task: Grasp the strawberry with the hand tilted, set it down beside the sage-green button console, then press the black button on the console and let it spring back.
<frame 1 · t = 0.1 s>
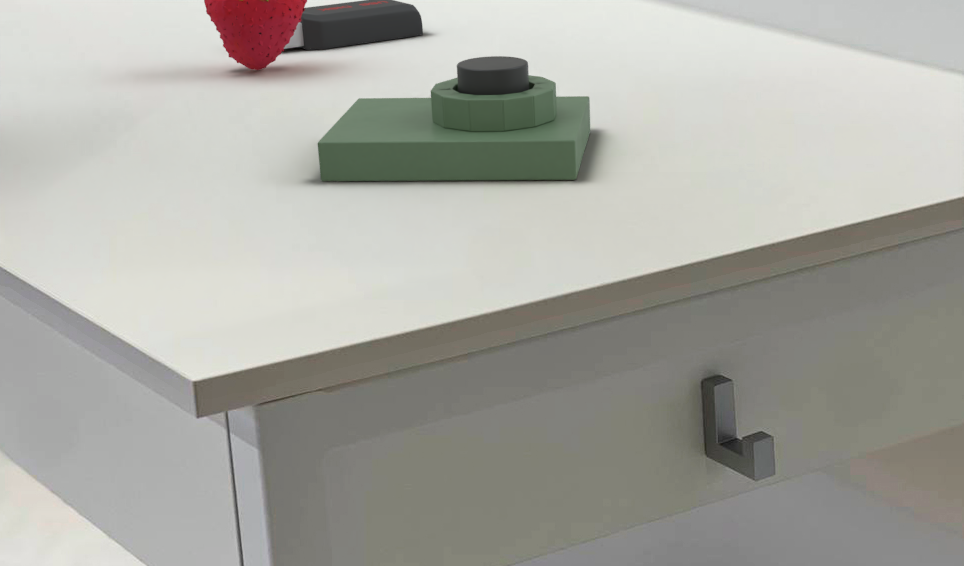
strawberry: (265, 73, 117), on the table
usb drive: (341, 42, 128), on the table
console: (462, 155, 93), on the table
button: (493, 78, 91), point 4 cm above the table, slide at 0.1 cm
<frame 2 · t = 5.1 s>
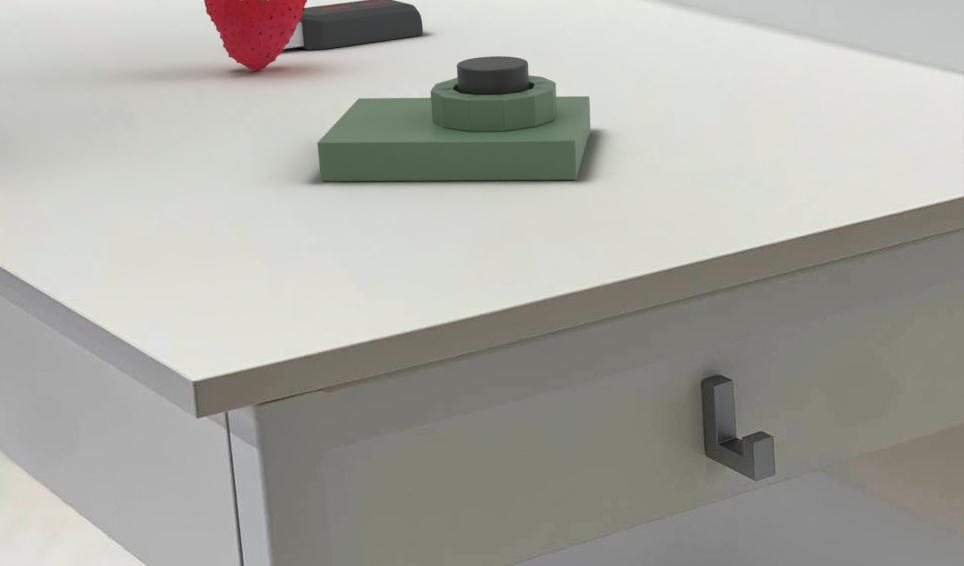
nothing on the table moved.
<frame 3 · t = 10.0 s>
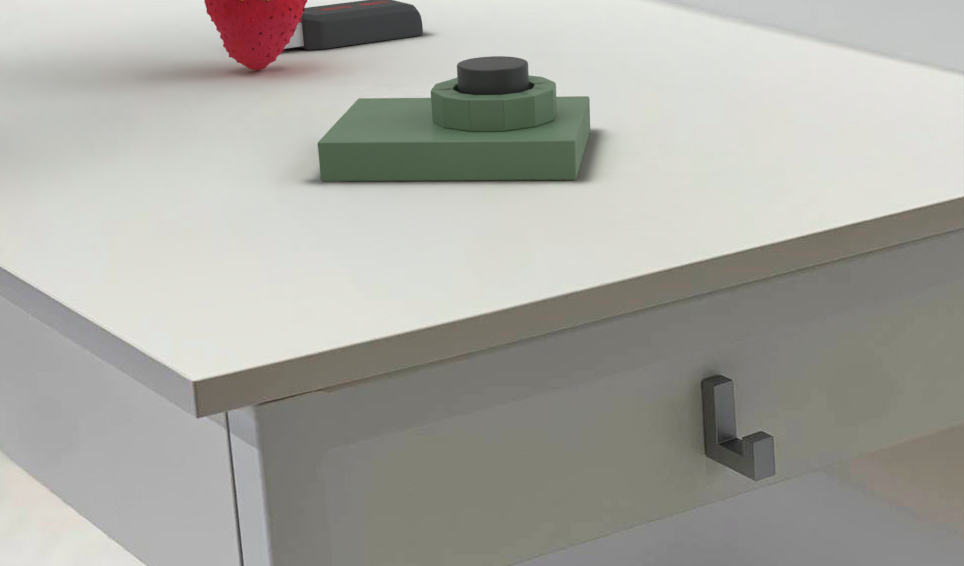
strawberry: (265, 73, 117), on the table, touching gripper
everything else where it was.
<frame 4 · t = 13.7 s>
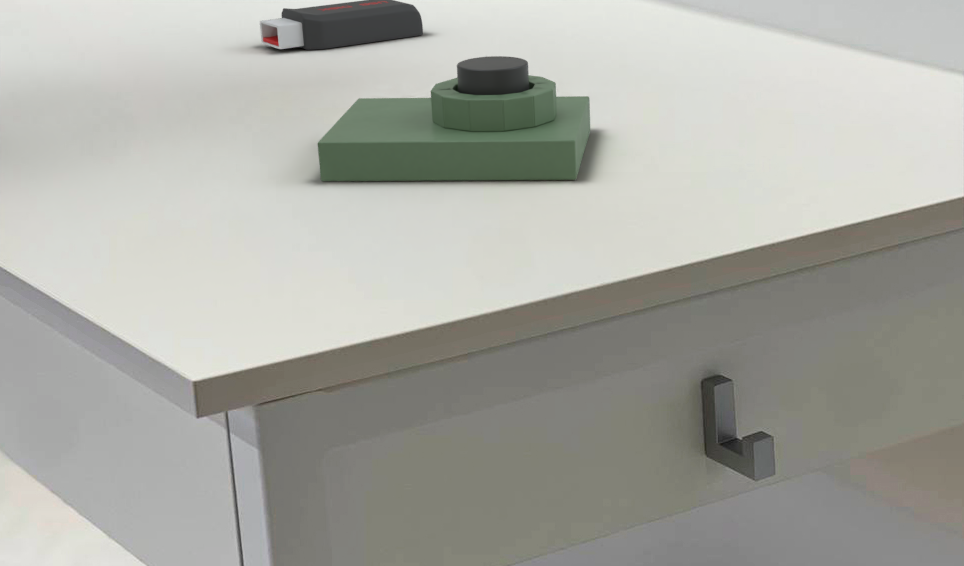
when the fingers open (6 cm above the table, at t = 17.5 s): strawberry stays where it is, on the table.
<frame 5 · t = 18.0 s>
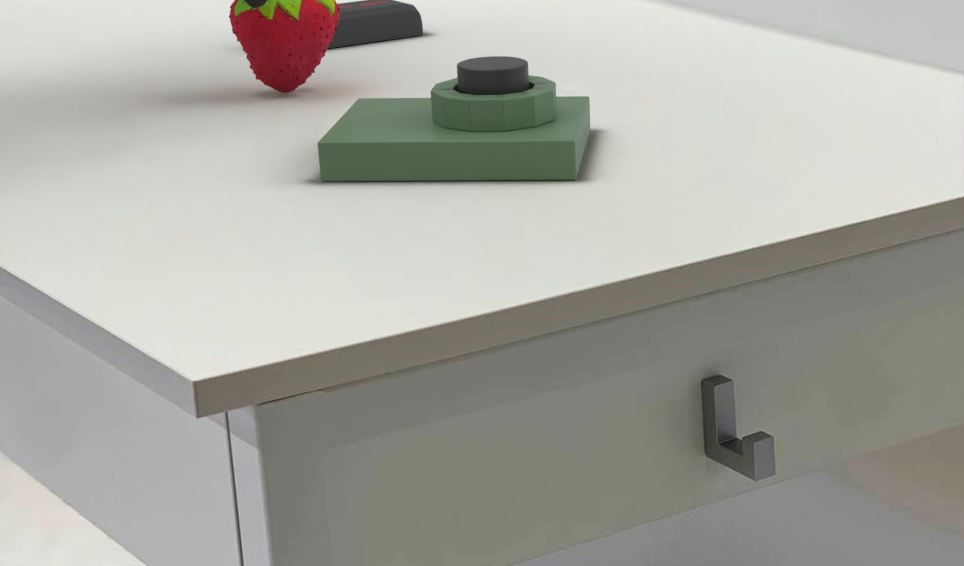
strawberry: (294, 96, 110), on the table
everything else where it was.
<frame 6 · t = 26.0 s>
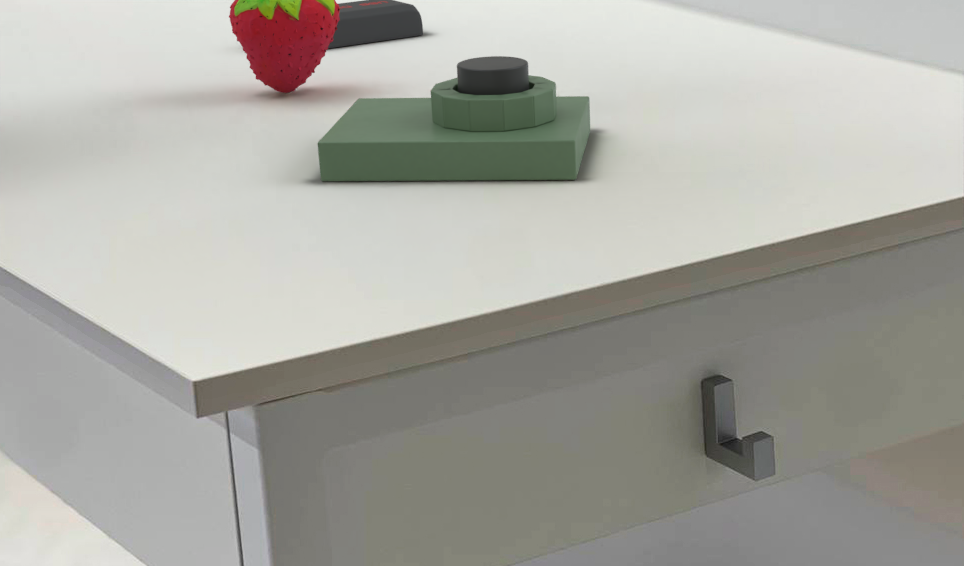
nothing on the table moved.
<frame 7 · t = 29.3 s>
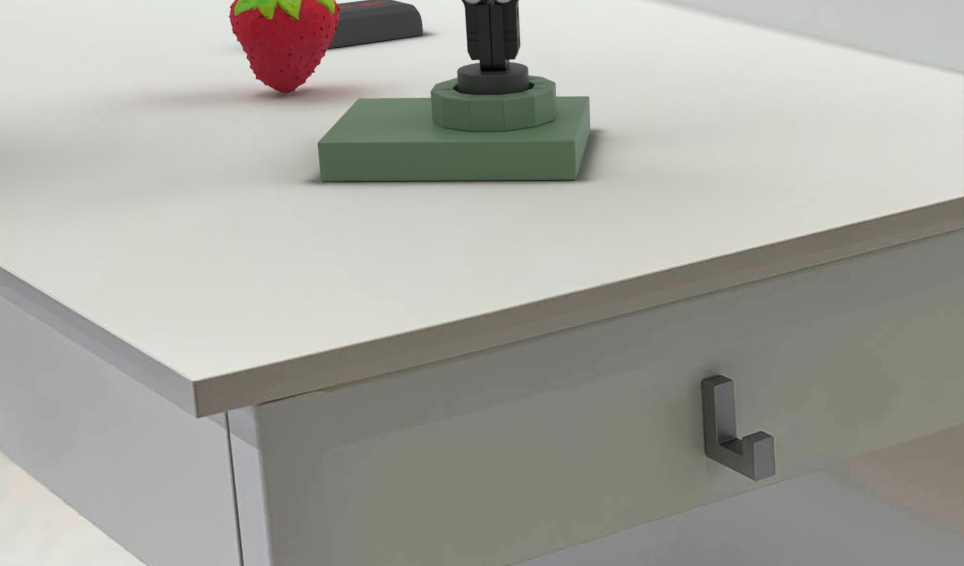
hand: (494, 67, 91), 5 cm above the table, tool pointing down, fingers closed
button: (493, 83, 91), point 4 cm above the table, slide at -0.2 cm, touching gripper
everything else where it was.
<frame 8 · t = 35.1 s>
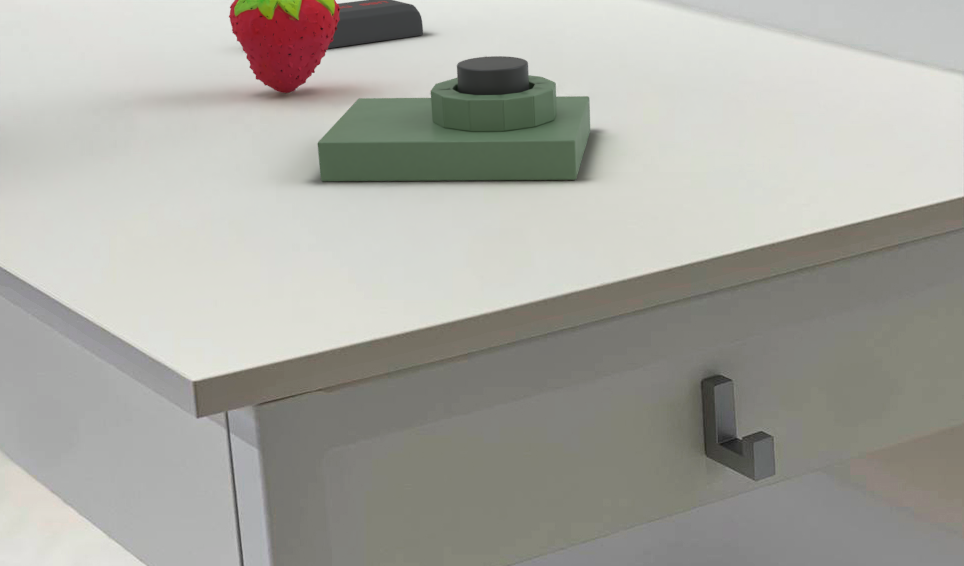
button: (493, 78, 91), point 4 cm above the table, slide at 0.1 cm
everything else where it was.
at the end: strawberry inside the target area (0.1 cm from its centre), on the table; button pushed in 1.1 cm at the most during the clip, back to where it started at the end; button slide at 0.1 cm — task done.
